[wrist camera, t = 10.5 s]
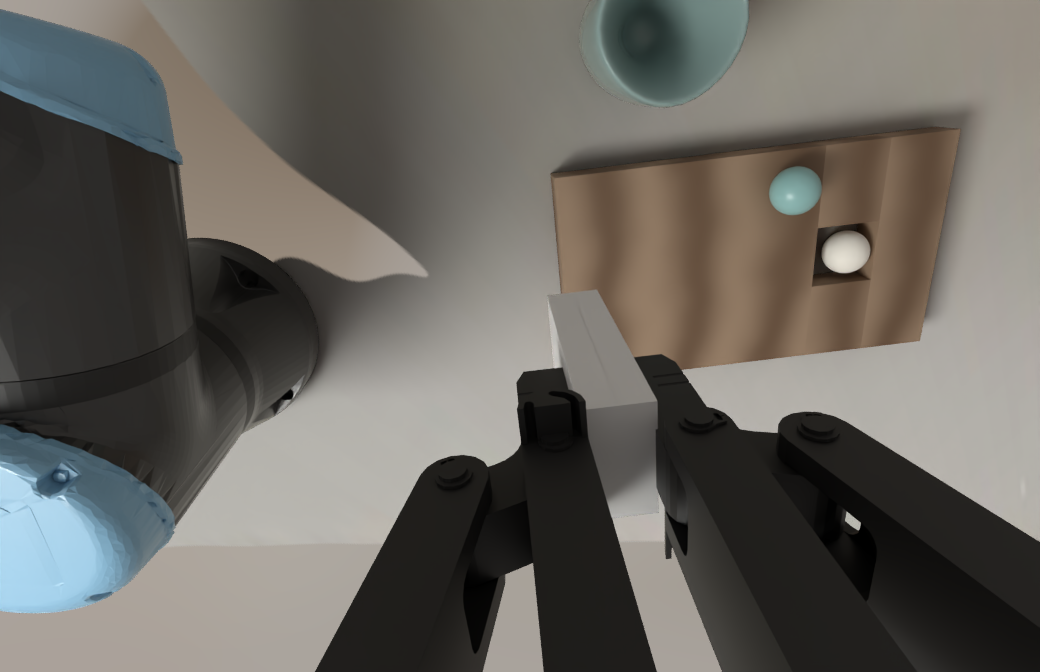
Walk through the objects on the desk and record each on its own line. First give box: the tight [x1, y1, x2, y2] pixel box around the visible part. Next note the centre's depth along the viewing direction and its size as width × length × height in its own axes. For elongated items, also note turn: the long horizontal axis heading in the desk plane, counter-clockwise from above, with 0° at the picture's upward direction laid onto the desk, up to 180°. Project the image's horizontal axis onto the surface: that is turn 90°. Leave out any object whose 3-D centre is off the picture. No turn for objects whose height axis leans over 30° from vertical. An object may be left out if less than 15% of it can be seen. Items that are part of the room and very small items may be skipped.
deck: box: [551, 127, 961, 370], centre depth 43 cm, size 28×16×2 cm, turn 96°
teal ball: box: [769, 166, 822, 215], centre depth 38 cm, size 3×3×3 cm
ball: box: [821, 230, 870, 273], centre depth 43 cm, size 3×3×3 cm
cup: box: [579, 0, 749, 108], centre depth 33 cm, size 8×8×10 cm
